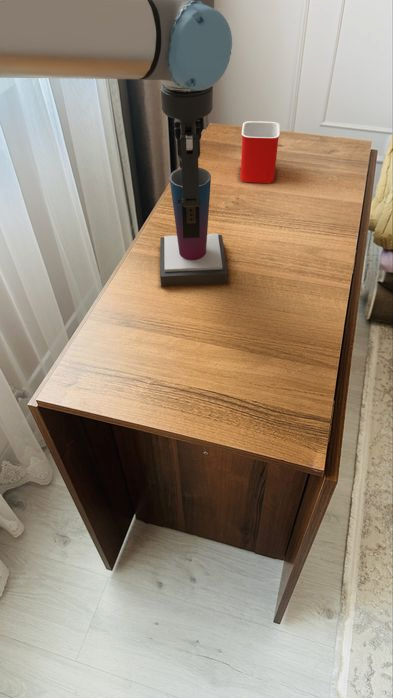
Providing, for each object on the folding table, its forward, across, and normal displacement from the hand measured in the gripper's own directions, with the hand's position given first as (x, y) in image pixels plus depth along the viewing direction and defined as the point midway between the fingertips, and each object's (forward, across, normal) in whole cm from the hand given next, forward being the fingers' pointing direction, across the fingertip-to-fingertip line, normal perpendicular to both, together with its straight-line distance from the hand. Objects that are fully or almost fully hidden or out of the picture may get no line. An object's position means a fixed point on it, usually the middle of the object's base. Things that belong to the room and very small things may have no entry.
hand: (189, 214), depth 86 cm
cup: (+8, 0, 0) cm, 8 cm away
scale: (+11, 0, 0) cm, 11 cm away
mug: (+11, +35, -17) cm, 41 cm away
